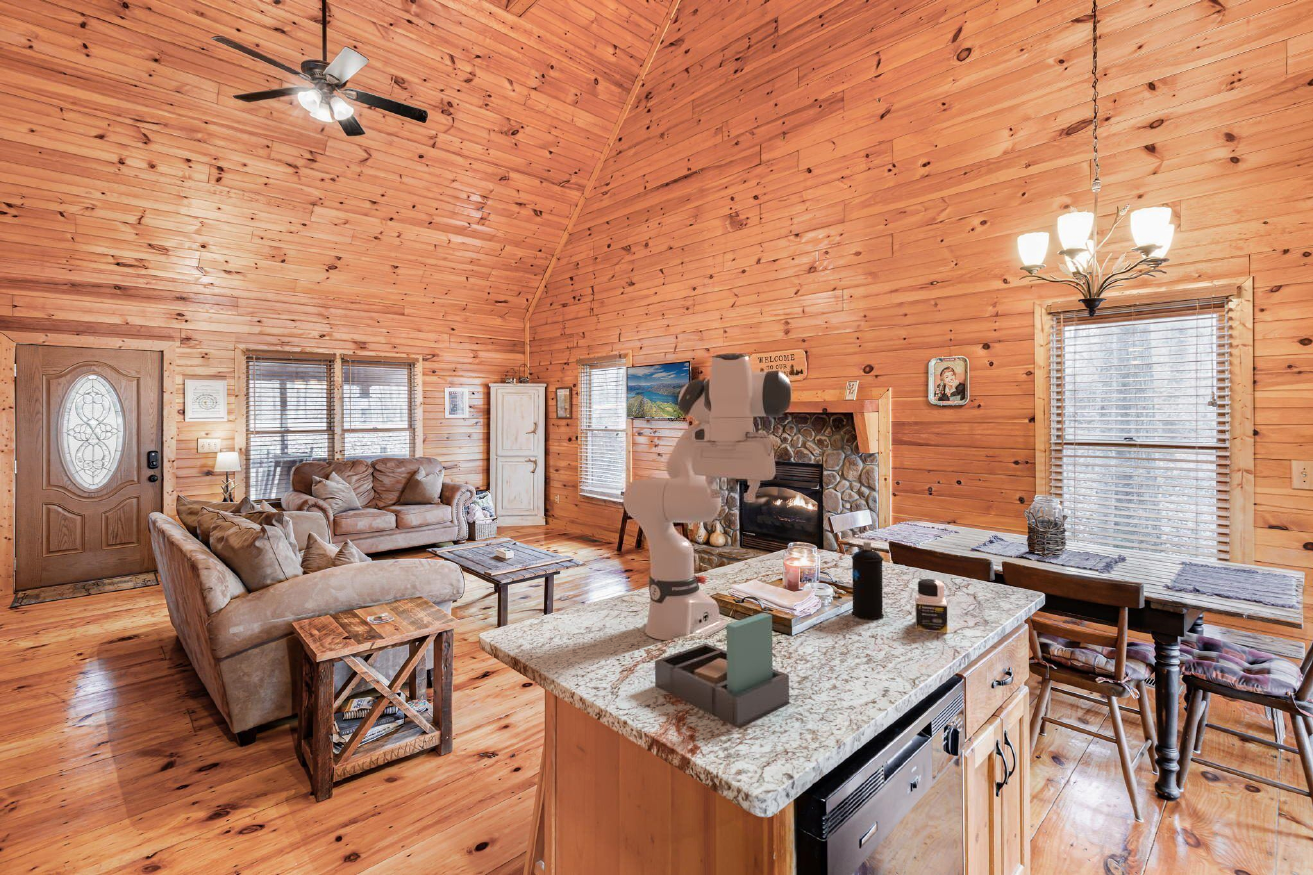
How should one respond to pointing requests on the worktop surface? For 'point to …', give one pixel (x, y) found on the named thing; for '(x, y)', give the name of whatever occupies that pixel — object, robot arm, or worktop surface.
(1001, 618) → the worktop surface
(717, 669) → the walnut offcut
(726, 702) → the rack
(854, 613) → the aerosol can
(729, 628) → the teal panel
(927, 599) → the medicine bottle
